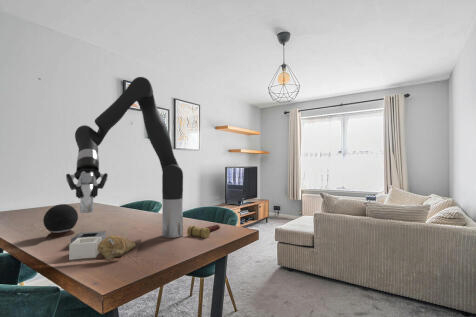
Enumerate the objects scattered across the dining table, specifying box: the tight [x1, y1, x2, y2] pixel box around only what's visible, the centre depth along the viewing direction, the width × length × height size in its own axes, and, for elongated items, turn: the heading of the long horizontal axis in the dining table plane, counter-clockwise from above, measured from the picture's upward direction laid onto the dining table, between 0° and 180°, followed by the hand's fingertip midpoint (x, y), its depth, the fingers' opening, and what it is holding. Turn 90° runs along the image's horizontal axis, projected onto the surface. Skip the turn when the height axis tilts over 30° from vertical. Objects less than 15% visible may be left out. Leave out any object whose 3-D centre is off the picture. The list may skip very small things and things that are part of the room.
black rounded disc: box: [42, 203, 79, 240], centre depth 117 cm, size 13×13×15 cm
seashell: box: [98, 234, 137, 261], centre depth 91 cm, size 14×8×8 cm, turn 163°
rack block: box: [68, 237, 102, 263], centre depth 90 cm, size 8×8×6 cm
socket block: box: [70, 230, 107, 244], centre depth 103 cm, size 10×10×4 cm
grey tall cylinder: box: [79, 173, 94, 214], centre depth 91 cm, size 4×4×14 cm
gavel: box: [186, 224, 221, 239], centre depth 124 cm, size 21×5×10 cm
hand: (86, 196), depth 89 cm, fingers closed on grey tall cylinder, 4 cm apart
